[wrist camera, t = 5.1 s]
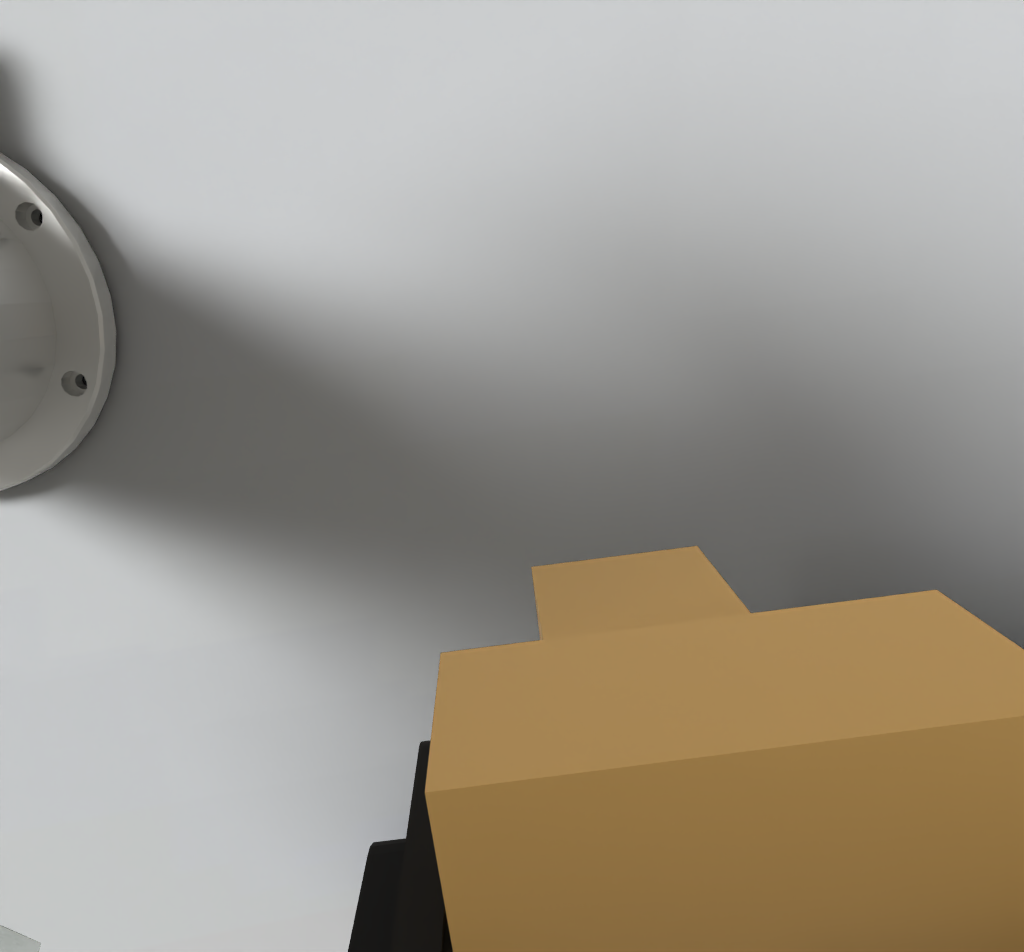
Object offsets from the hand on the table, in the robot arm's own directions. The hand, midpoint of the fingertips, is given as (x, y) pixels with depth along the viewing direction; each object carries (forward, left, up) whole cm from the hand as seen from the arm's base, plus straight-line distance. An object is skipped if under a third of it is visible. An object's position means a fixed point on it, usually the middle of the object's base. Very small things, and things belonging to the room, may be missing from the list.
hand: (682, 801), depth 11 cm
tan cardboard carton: (0, 0, -5) cm, 5 cm away
